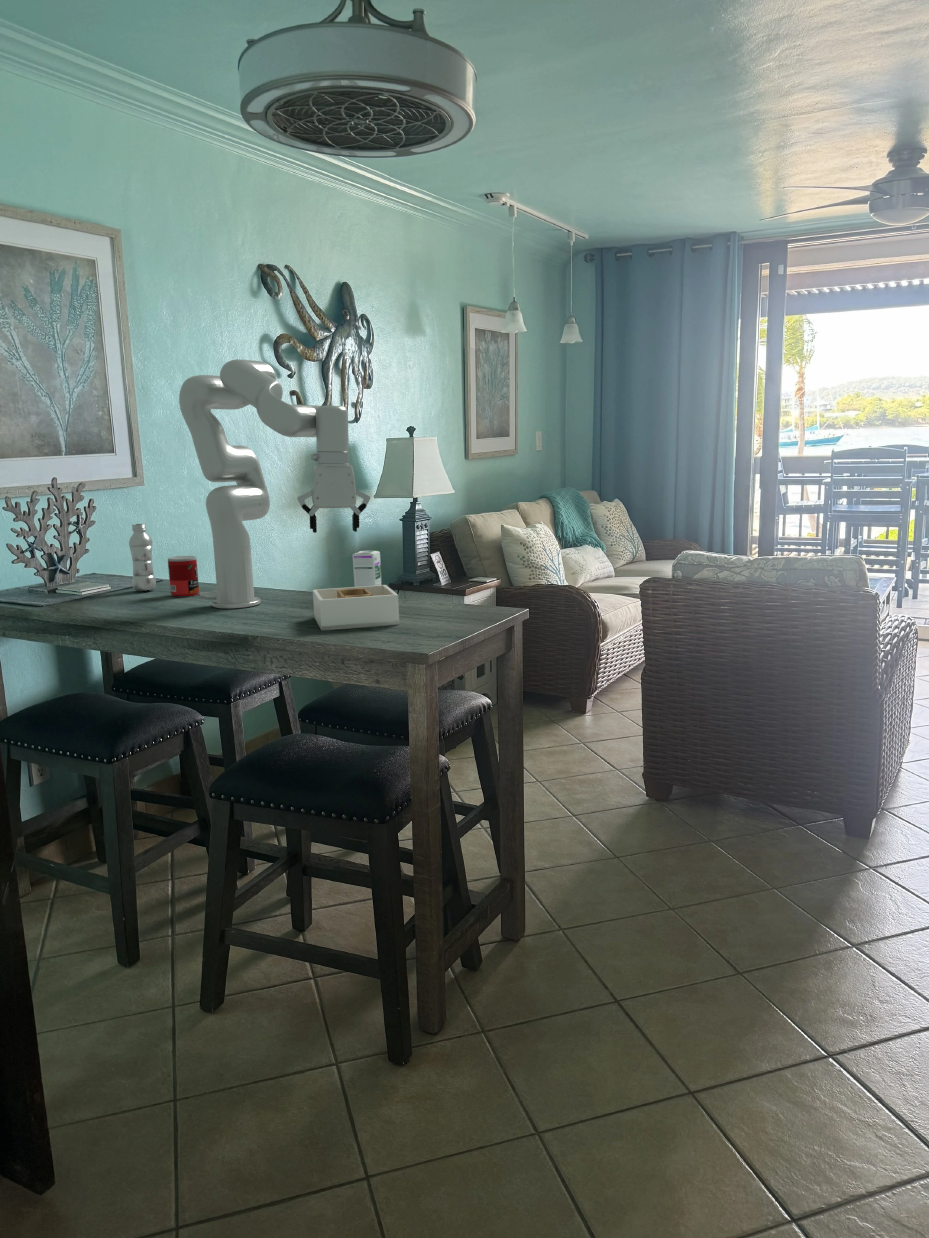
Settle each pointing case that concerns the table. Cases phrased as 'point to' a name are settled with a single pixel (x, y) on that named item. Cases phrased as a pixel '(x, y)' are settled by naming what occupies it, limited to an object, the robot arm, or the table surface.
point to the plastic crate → (356, 608)
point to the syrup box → (367, 568)
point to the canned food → (183, 576)
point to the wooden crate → (353, 593)
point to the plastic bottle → (142, 559)
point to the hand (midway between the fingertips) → (334, 531)
